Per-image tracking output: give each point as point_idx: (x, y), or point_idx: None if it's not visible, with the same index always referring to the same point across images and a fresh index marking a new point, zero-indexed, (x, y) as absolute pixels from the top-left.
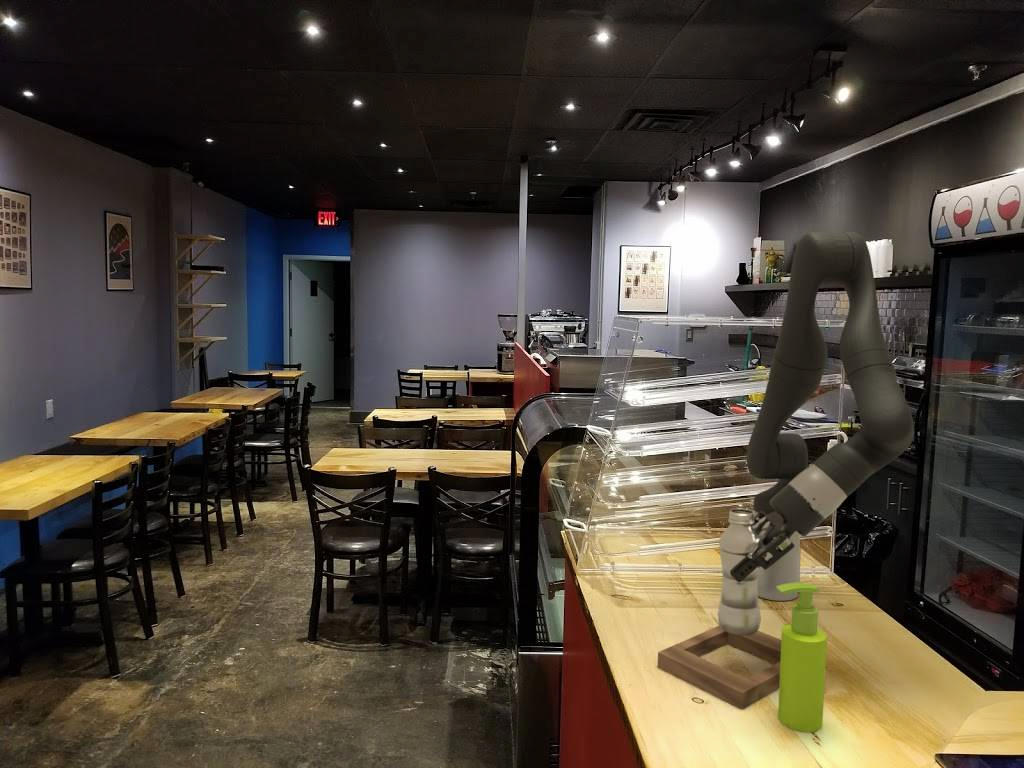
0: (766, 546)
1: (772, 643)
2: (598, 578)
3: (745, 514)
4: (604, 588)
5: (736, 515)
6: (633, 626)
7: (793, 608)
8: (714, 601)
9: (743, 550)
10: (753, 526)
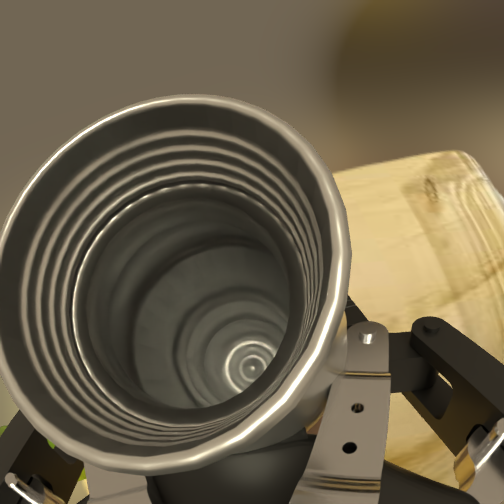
0: (23, 430)
1: (315, 429)
2: (458, 165)
3: None
4: (439, 171)
5: (47, 190)
6: (350, 210)
7: (5, 426)
8: (479, 315)
9: (115, 341)
10: (365, 428)
